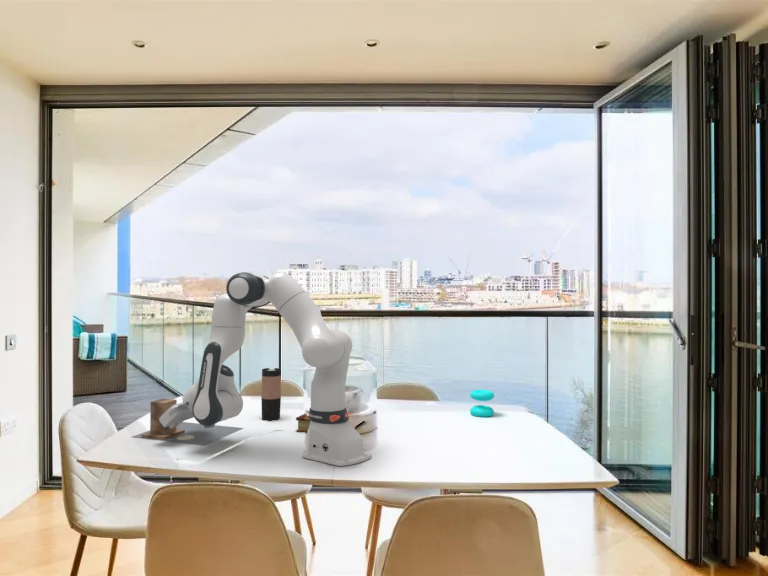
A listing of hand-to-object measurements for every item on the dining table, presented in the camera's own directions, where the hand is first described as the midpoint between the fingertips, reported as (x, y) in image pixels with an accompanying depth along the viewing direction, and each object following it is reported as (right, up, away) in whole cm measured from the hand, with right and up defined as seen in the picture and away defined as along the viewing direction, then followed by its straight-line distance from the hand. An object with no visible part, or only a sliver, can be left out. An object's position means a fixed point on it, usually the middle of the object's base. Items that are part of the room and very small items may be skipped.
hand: (172, 426), depth 191 cm
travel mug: (+28, -5, +31) cm, 42 cm away
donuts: (+115, -6, +42) cm, 122 cm away
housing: (-3, -3, +1) cm, 5 cm away
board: (+4, -4, +5) cm, 8 cm away
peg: (+9, -3, +13) cm, 16 cm away
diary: (+54, -6, +20) cm, 57 cm away
